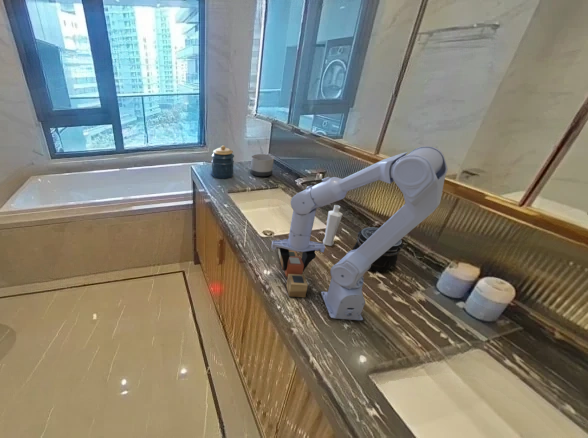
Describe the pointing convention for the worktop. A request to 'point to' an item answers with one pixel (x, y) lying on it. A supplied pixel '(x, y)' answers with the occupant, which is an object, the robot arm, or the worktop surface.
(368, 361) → the worktop surface
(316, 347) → the worktop surface
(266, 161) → the planter
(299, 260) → the terracotta block
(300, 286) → the maple block
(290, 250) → the cream block
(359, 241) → the container
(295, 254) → the beech block
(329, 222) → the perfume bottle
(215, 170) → the canister
